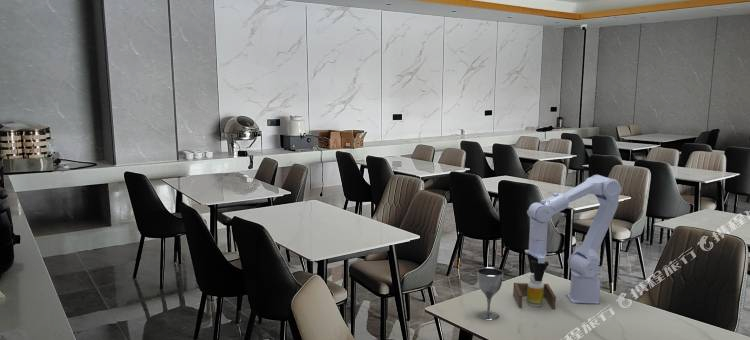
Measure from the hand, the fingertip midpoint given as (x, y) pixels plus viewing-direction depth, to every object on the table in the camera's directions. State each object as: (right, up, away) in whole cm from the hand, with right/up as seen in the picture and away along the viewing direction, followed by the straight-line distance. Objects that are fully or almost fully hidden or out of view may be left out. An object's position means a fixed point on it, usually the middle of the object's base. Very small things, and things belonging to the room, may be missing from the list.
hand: (535, 276), depth 198 cm
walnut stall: (0, -9, +4) cm, 10 cm away
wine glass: (-18, -11, -8) cm, 23 cm away
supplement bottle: (0, -10, +2) cm, 10 cm away
